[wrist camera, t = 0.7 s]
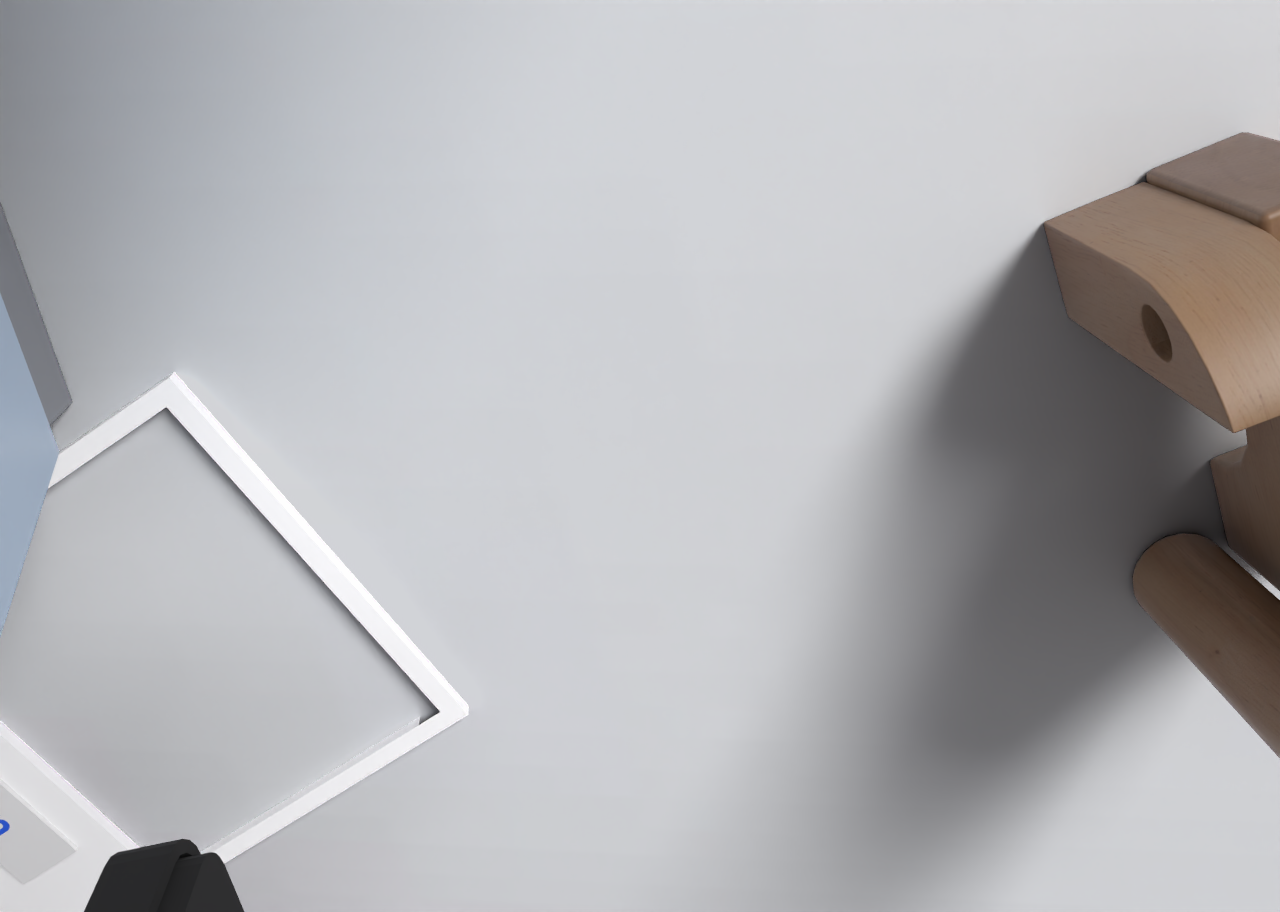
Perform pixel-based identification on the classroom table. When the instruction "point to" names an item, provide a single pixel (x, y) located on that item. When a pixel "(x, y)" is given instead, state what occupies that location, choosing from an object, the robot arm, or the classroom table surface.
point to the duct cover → (19, 460)
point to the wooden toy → (1201, 385)
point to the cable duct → (30, 327)
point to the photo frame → (85, 838)
